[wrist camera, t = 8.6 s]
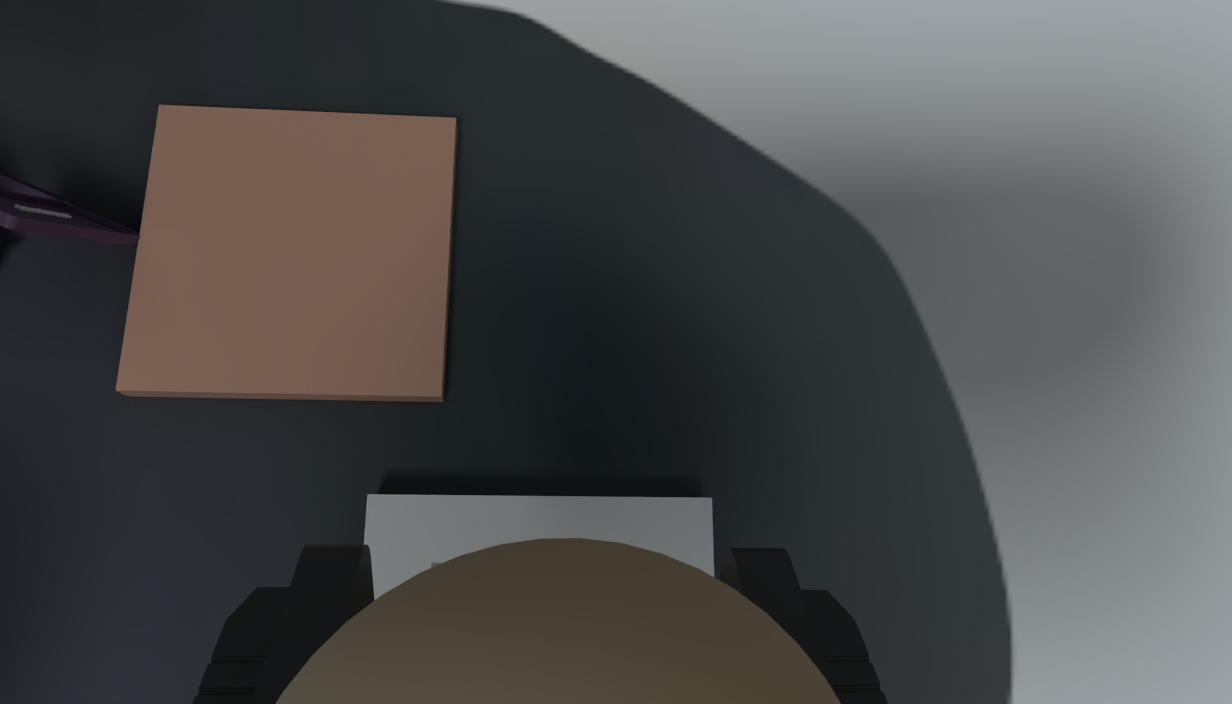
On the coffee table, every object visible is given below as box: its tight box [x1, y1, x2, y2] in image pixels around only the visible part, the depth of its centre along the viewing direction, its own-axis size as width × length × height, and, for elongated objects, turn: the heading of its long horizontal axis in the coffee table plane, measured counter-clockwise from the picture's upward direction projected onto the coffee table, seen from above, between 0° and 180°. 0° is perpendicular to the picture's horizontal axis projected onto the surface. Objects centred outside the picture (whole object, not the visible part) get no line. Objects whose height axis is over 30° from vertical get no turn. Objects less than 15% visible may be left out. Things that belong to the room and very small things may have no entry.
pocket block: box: [364, 494, 714, 600], centre depth 28 cm, size 10×10×2 cm
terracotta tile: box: [116, 105, 458, 402], centre depth 31 cm, size 10×10×1 cm
